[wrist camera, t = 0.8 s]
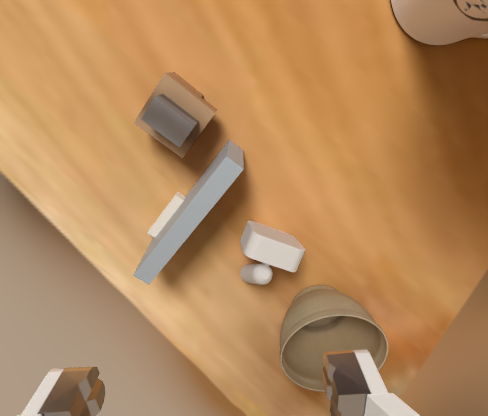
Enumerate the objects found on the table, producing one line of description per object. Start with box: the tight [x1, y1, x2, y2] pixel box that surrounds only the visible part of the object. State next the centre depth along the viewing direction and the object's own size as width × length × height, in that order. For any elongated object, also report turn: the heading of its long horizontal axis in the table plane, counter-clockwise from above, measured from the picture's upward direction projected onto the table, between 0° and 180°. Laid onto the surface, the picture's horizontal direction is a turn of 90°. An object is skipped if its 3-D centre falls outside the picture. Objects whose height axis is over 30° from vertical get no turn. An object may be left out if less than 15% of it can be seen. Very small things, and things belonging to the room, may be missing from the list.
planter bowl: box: [280, 285, 388, 392], centre depth 51 cm, size 16×16×11 cm
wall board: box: [133, 140, 244, 284], centre depth 42 cm, size 21×4×9 cm, turn 142°
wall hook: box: [240, 220, 305, 285], centre depth 47 cm, size 8×10×10 cm
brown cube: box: [134, 72, 217, 158], centre depth 37 cm, size 7×7×9 cm
